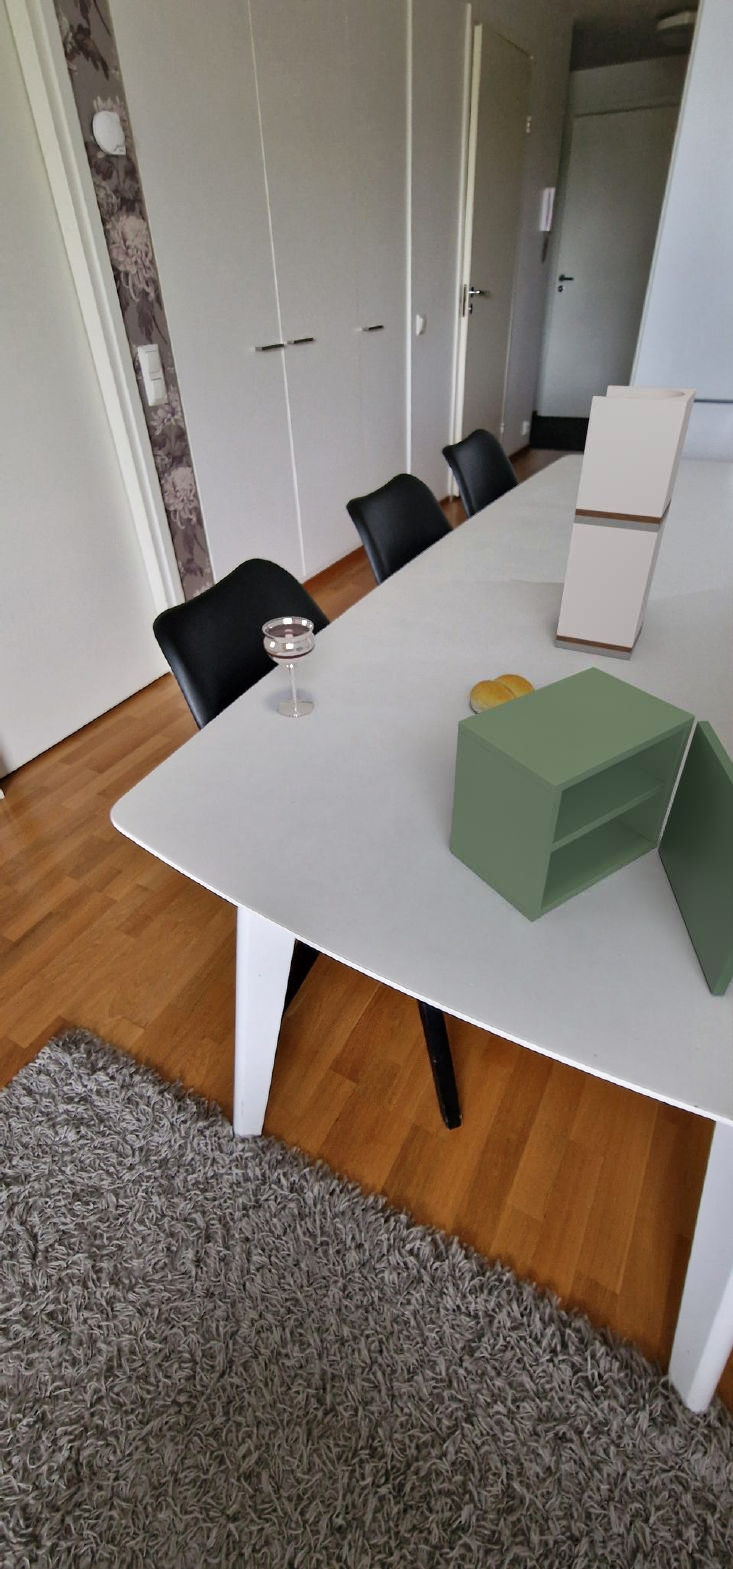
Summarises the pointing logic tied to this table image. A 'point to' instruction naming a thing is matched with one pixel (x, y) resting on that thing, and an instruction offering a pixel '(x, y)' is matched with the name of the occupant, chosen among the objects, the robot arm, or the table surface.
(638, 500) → the tall white column
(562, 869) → the cupboard
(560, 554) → the table surface
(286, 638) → the wineglass
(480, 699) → the bread roll
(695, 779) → the cupboard door
